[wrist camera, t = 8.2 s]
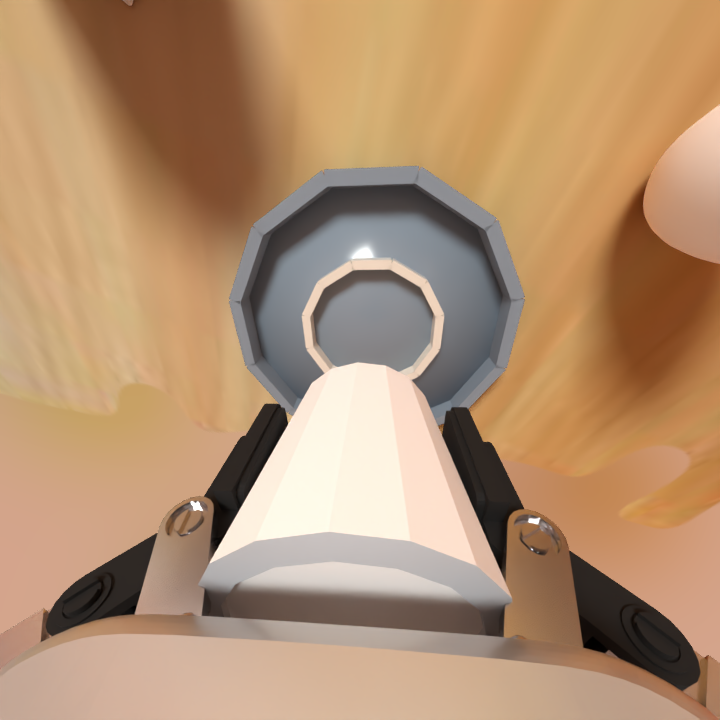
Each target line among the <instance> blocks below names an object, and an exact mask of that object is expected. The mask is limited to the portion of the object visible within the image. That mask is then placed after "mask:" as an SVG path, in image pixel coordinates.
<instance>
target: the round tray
mask: <svg viewBox="0 0 720 720" xmlns="http://www.w3.org/2000/svg"><path fill="white" fill-rule="evenodd" d="M496 219H497V218H496V217H494V216H493V215H491V214H490V213H488V212H487V211H486V210H484V209H483V208H481V207H480V206H478V205H477V204H475V203H474V202H472V201H471V200H469V199H468V198H467V197H465V196H464V195H462V194H461V193H459V192H458V191H456V190H455V189H453V188H452V187H450V186H449V185H448V184H446V183H445V182H443V181H442V180H440V179H439V178H437V177H436V176H434V175H433V174H431V173H430V172H429V171H427V170H426V169H424V168H423V167H421V168H420V169H419V166H403V167H378V168H352V169H326V170H324V172H323V171H320V172H319V173H318V174H317V175H315V176H314V177H313V178H311V179H310V180H309V181H308V182H306V183H305V184H304V185H303V186H301V187H300V188H299V189H297V190H296V191H295V192H294V193H292V194H291V195H290V196H289V197H287V198H286V199H285V200H283V201H282V202H281V203H280V204H278V205H277V206H276V207H275V208H273V209H272V210H271V211H269V212H268V213H267V214H266V215H264V216H263V217H262V218H261V219H259V220H258V221H257V222H255V223H254V224H253V226H252V227H251V230H250V233H249V236H248V239H247V243H246V246H245V249H244V252H243V255H242V259H241V262H240V265H239V268H238V272H237V275H236V278H235V281H234V284H233V288H232V291H231V294H230V297H229V299H230V301H229V303H230V307H231V311H232V315H233V319H234V323H235V327H236V331H237V334H238V338H239V342H240V346H241V350H242V354H243V358H244V362H245V366H247V369H248V370H249V371H250V372H251V373H252V374H253V375H254V376H255V377H256V379H257V380H258V381H259V382H260V383H261V384H262V385H263V386H264V388H265V389H266V390H267V391H268V392H269V393H270V394H271V395H272V396H273V398H274V399H275V400H276V401H277V402H278V403H279V404H280V405H281V407H282V408H285V411H286V412H289V414H290V415H292V416H293V415H294V413H295V412H296V410H297V408H298V406H299V405H300V403H301V401H302V399H303V398H304V396H305V394H306V392H307V391H308V389H309V387H310V385H311V384H312V382H314V381H315V380H317V379H318V378H319V377H321V376H322V375H324V374H325V373H326V372H328V371H329V370H330V369H332V368H337V367H341V366H345V365H349V364H353V363H357V362H359V363H368V364H377V365H386V366H388V367H390V368H392V369H394V370H396V371H398V372H400V373H402V374H404V375H405V376H407V377H409V378H410V379H411V380H412V381H413V382H414V383H415V385H416V386H417V387H418V388H419V389H420V391H421V392H422V393H423V394H424V395H425V397H426V400H427V402H428V404H429V407H430V409H431V411H432V414H433V416H434V418H435V421H436V423H437V425H441V424H444V420H445V414H446V411H450V410H451V407H467V408H468V409H469V407H470V406H471V405H472V404H473V403H474V402H475V401H476V400H477V399H478V398H479V397H480V396H481V395H482V394H483V393H484V392H485V391H486V390H487V389H488V388H489V387H490V386H491V385H492V384H493V383H494V381H495V380H496V379H497V378H498V377H499V376H500V375H501V374H502V373H503V372H504V371H505V368H507V365H508V361H509V357H510V354H511V350H512V346H513V342H514V338H515V335H516V331H517V327H518V323H519V319H520V316H521V312H522V308H523V304H524V300H525V299H524V297H525V296H524V293H523V290H522V287H521V284H520V281H519V279H518V276H517V273H516V270H515V267H514V264H513V261H512V258H511V255H510V253H509V250H508V247H507V244H506V241H505V238H504V235H503V232H502V229H501V226H500V224H499V221H498V220H496Z"/></svg>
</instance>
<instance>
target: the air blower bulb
mask: <svg viewBox="0 0 720 720" xmlns="http://www.w3.org/2000/svg"><path fill="white" fill-rule="evenodd" d="M643 210H644V216H645V218H646V220H647V222H648V224H649V226H650V228H651V229H652V230H653V232H654V233H655V234H656V235H658V236H659V237H660V238H661V239H662V240H663V241H664V242H665V243H667V244H668V245H670V246H671V247H673V248H675V249H677V250H679V251H682V252H684V253H686V254H688V255H691V256H693V257H696V258H699V259H702V260H705V261H709V262H713V263H718V264H720V105H718V106H717V107H716V108H714V109H713V110H711V111H710V112H709V113H707V114H706V115H705V116H704V117H702V118H701V119H700V120H698V121H697V122H696V123H695V124H693V125H692V126H691V127H689V128H688V129H687V130H686V131H685V132H684V133H683V134H682V135H681V136H680V137H678V138H677V140H676V141H675V142H674V143H673V144H672V145H671V146H670V147H669V148H668V149H667V150H666V151H665V153H664V154H663V155H662V157H661V158H660V159H659V161H658V162H657V164H656V166H655V168H654V170H653V171H652V173H651V175H650V178H649V180H648V183H647V186H646V190H645V193H644V200H643Z"/></svg>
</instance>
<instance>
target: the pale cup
mask: <svg viewBox="0 0 720 720" xmlns="http://www.w3.org/2000/svg"><path fill="white" fill-rule="evenodd" d="M198 585H199V586H202V587H205V589H206V592H207V594H208V596H209V598H210V601H211V612H210V613H209V614H208V615H209V616H211V617H227V618H243V619H258V620H274V621H290V622H304V623H319V624H334V625H348V626H362V627H376V628H391V629H404V630H418V631H431V632H444V633H458V634H471V635H484V636H495V637H499V636H500V633H499V617H500V614H501V612H502V610H503V607H504V605H505V604H506V603H510V602H512V597H511V594H510V592H509V590H508V587H507V585H506V583H505V581H504V578H503V576H502V574H501V571H500V569H499V567H498V564H497V562H496V560H495V557H494V555H493V553H492V550H491V548H490V546H489V543H488V541H487V539H486V537H485V534H484V532H483V530H482V527H481V525H480V523H479V520H478V518H477V516H476V513H475V511H474V509H473V506H472V504H471V502H470V499H469V497H468V495H467V492H466V490H465V488H464V486H463V483H462V481H461V479H460V476H459V474H458V472H457V469H456V467H455V465H454V462H453V460H452V458H451V455H450V453H449V451H448V448H447V446H446V444H445V441H444V439H443V437H442V435H441V432H440V430H439V428H438V425H437V423H436V421H435V418H434V416H433V414H432V411H431V409H430V407H429V404H428V402H427V400H426V397H425V395H424V394H423V393H422V392H421V391H420V389H419V388H418V387H417V386H416V385H415V383H414V382H413V381H412V380H411V379H410V378H409V377H407V376H405V375H404V374H402V373H400V372H398V371H396V370H394V369H392V368H390V367H388V366H386V365H377V364H368V363H359V362H357V363H353V364H349V365H345V366H341V367H337V368H332V369H330V370H329V371H328V372H326V373H325V374H324V375H322V376H321V377H319V378H318V379H317V380H315V381H314V382H312V384H311V385H310V387H309V389H308V391H307V392H306V394H305V396H304V398H303V399H302V401H301V403H300V405H299V406H298V408H297V410H296V412H295V413H294V415H293V417H292V419H291V421H290V422H289V424H288V426H287V428H286V429H285V431H284V433H283V435H282V436H281V438H280V440H279V442H278V443H277V445H276V447H275V449H274V450H273V452H272V454H271V456H270V457H269V459H268V461H267V463H266V464H265V466H264V468H263V470H262V471H261V473H260V475H259V477H258V478H257V480H256V482H255V484H254V486H253V487H252V489H251V491H250V493H249V494H248V496H247V498H246V500H245V501H244V503H243V505H242V507H241V508H240V510H239V512H238V514H237V515H236V517H235V519H234V521H233V522H232V524H231V526H230V528H229V529H228V531H227V533H226V535H225V536H224V538H223V540H222V542H221V544H220V545H219V547H218V549H217V551H216V552H215V554H214V556H213V558H212V559H211V561H210V563H209V565H208V567H207V569H206V570H205V572H204V574H203V576H202V578H201V580H200V582H199V584H198Z"/></svg>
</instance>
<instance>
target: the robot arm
mask: <svg viewBox="0 0 720 720" xmlns="http://www.w3.org/2000/svg"><path fill="white" fill-rule="evenodd" d="M287 426H288V421H287V416H286V411H285V408H281V405H280V404H265V405H264V406H263V407H262V409H261V411H260V412H259V414H258V416H257V418H256V419H255V421H254V423H253V424H252V426H251V428H250V429H249V431H248V433H247V434H246V436H242V437H241V438H240V439H239V441H238V442H237V444H236V445H235V447H234V449H233V451H232V452H231V453H230V455H229V457H228V458H227V460H226V462H225V463H224V465H223V466H222V468H221V470H220V471H219V473H218V475H217V476H216V478H215V479H214V481H213V483H212V484H211V486H210V488H209V489H208V491H207V493H206V494H205V496H204V497H201V496H198V497H192V498H189V499H187V500H184V501H182V502H181V503H179V504H178V505H176V506H175V507H174V508H172V509H171V510H170V511H169V512H168V513H167V515H166V516H165V517H164V518H163V520H162V522H161V525H160V527H159V530H158V533H156V534H155V535H153V536H151V537H150V538H148V539H146V540H144V541H143V542H141V543H139V544H138V545H136V546H134V547H133V548H131V549H129V550H127V551H126V552H124V553H122V554H121V555H119V556H117V557H115V558H114V559H112V560H110V561H109V562H107V563H105V564H104V565H102V566H100V567H98V568H97V569H95V570H93V571H92V572H90V573H89V574H87V575H85V576H84V577H82V578H81V579H79V580H78V581H76V582H75V583H74V584H73V585H71V586H70V588H68V589H67V590H66V591H65V592H64V593H63V594H62V595H61V597H60V598H59V599H58V600H57V601H56V603H55V604H54V606H53V608H51V609H50V610H48V611H47V610H45V609H44V608H43V609H41V610H40V611H38V612H37V613H35V614H33V615H32V616H30V617H28V618H27V619H25V620H23V621H22V622H20V623H18V624H17V625H15V626H13V627H12V628H10V629H9V630H7V631H5V632H4V633H2V634H1V635H0V720H720V663H719V662H717V661H716V660H715V659H713V658H712V657H711V656H709V655H708V656H706V657H702V656H701V655H699V654H698V653H697V652H695V651H694V650H693V648H692V646H691V645H690V643H689V642H688V641H687V639H686V638H685V637H684V635H683V634H682V633H681V632H680V631H679V630H678V628H677V627H675V625H674V624H673V623H672V622H671V621H670V620H669V619H667V618H666V617H665V616H663V615H662V614H661V613H660V612H658V611H657V610H656V609H654V608H653V607H651V606H650V605H648V604H647V603H646V602H644V601H643V600H641V599H640V598H638V597H637V596H635V595H634V594H632V593H631V592H629V591H628V590H626V589H625V588H623V587H622V586H621V585H619V584H618V583H616V582H615V581H613V580H612V579H610V578H609V577H607V576H606V575H605V574H603V573H601V572H600V571H599V570H597V569H596V568H594V567H593V566H591V565H590V564H588V563H587V562H585V561H584V560H583V559H581V558H580V557H578V556H577V555H575V554H574V553H572V552H571V551H569V547H568V544H567V541H566V538H565V536H564V535H563V533H562V531H561V530H560V529H559V528H558V527H557V526H556V525H555V524H554V523H553V522H552V521H551V520H550V519H548V518H547V517H545V516H544V515H542V514H540V513H538V512H535V511H531V510H526V509H524V507H523V505H522V503H521V501H520V499H519V497H518V495H517V493H516V491H515V489H514V487H513V485H512V483H511V481H510V479H509V477H508V475H507V472H506V471H505V468H504V466H503V464H502V462H501V460H500V458H499V456H498V454H497V452H496V450H495V448H494V446H493V445H492V443H490V442H483V441H482V438H481V436H480V434H479V432H478V430H477V427H476V425H475V423H474V421H473V419H472V416H471V414H470V412H469V410H468V408H467V407H451V410H450V411H446V414H445V420H444V427H443V433H442V437H443V439H444V441H445V444H446V446H447V448H448V451H449V453H450V455H451V458H452V460H453V462H454V465H455V467H456V469H457V472H458V474H459V476H460V479H461V481H462V483H463V486H464V488H465V490H466V492H467V495H468V497H469V499H470V502H471V504H472V506H473V509H474V511H475V513H476V516H477V518H478V520H479V523H480V525H481V527H482V530H483V532H484V534H485V537H486V539H487V541H488V543H489V546H490V548H491V550H492V553H493V555H494V557H495V560H496V562H497V564H498V567H499V569H500V571H501V574H502V576H503V578H504V581H505V583H506V585H507V587H508V590H509V592H510V594H511V597H512V602H510V603H506V604H505V605H504V607H503V610H502V612H501V614H500V617H499V633H500V636H499V637H495V636H484V635H471V634H458V633H444V632H431V631H418V630H404V629H391V628H376V627H362V626H348V625H334V624H319V623H304V622H290V621H274V620H258V619H243V618H227V617H211V616H209V615H208V614H209V613H210V612H211V601H210V598H209V596H208V594H207V592H206V589H205V587H202V586H199V585H198V584H199V582H200V580H201V578H202V576H203V574H204V572H205V570H206V569H207V567H208V565H209V563H210V561H211V559H212V558H213V556H214V554H215V552H216V551H217V549H218V547H219V545H220V544H221V542H222V540H223V538H224V536H225V535H226V533H227V531H228V529H229V528H230V526H231V524H232V522H233V521H234V519H235V517H236V515H237V514H238V512H239V510H240V508H241V507H242V505H243V503H244V501H245V500H246V498H247V496H248V494H249V493H250V491H251V489H252V487H253V486H254V484H255V482H256V480H257V478H258V477H259V475H260V473H261V471H262V470H263V468H264V466H265V464H266V463H267V461H268V459H269V457H270V456H271V454H272V452H273V450H274V449H275V447H276V445H277V443H278V442H279V440H280V438H281V436H282V435H283V433H284V431H285V429H286V428H287Z"/></svg>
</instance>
